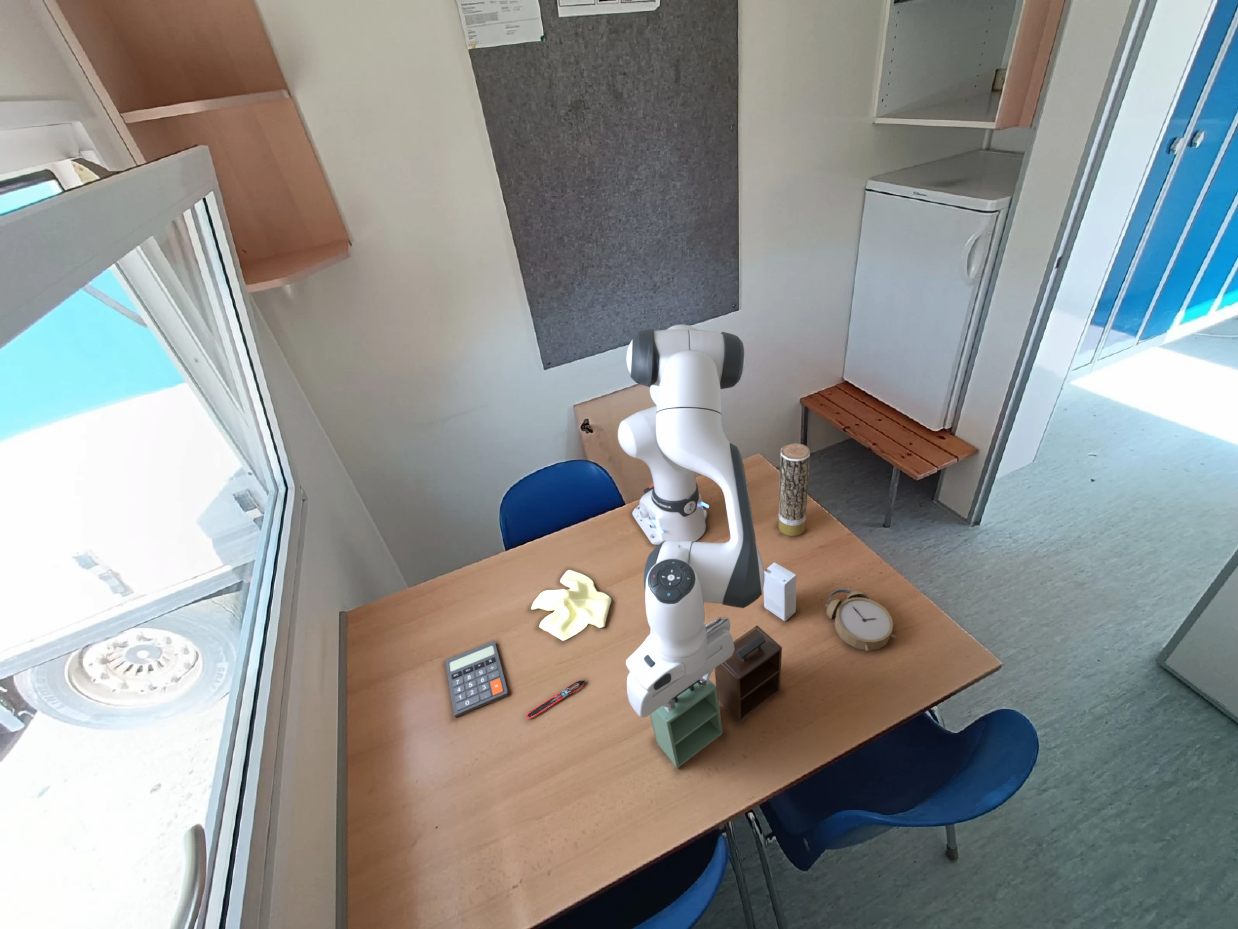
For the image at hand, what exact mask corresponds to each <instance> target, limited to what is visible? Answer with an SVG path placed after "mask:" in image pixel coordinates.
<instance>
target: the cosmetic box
mask: <svg viewBox="0 0 1238 929" xmlns="http://www.w3.org/2000/svg"><path fill="white" fill-rule="evenodd" d="M764 574H765V582H764V588H763V607H764V608H765V610H767V611H769V612H771V613H772V614H773V615H775V616H776V617H778V618H779V619H780V620H782V621H784V622H787V620H788V619H790V618H791V617H792V616H793V615H794V614H795V613H796V612H797V574H796V573H794V572H792V571H791V570H789V569H787V568H785V567H784V566H782V565H780V564H778V563H777V562H775V561H774V562H773V563H771V564H770V565H769V566H768V567H767V568H765V569H764Z"/></svg>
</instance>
